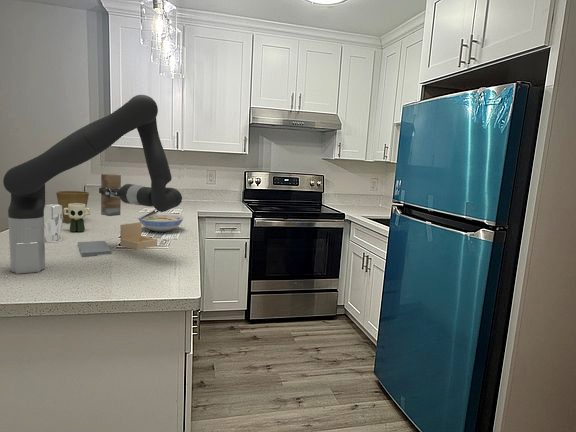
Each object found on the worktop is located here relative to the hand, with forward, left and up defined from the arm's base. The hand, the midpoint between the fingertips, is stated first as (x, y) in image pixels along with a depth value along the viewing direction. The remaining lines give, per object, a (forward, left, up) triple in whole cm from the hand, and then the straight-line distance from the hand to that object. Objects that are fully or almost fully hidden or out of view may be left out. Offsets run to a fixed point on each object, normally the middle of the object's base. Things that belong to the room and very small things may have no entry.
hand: (106, 190), depth 149 cm
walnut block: (-2, -1, -10) cm, 10 cm away
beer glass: (+18, +18, -24) cm, 35 cm away
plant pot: (+60, +8, -24) cm, 65 cm away
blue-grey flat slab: (-3, +5, -24) cm, 24 cm away
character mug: (+35, +8, -24) cm, 43 cm away
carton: (-3, -13, -24) cm, 27 cm away
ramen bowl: (+28, -29, -24) cm, 47 cm away
